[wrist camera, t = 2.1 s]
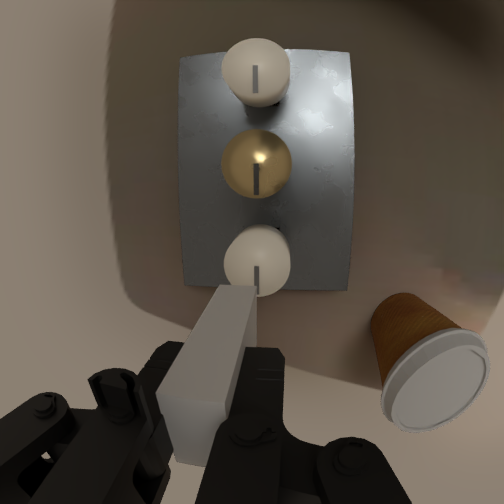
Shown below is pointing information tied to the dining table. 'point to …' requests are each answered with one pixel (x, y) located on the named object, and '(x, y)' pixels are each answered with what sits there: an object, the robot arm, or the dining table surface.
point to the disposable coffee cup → (425, 364)
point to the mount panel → (296, 188)
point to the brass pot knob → (256, 163)
